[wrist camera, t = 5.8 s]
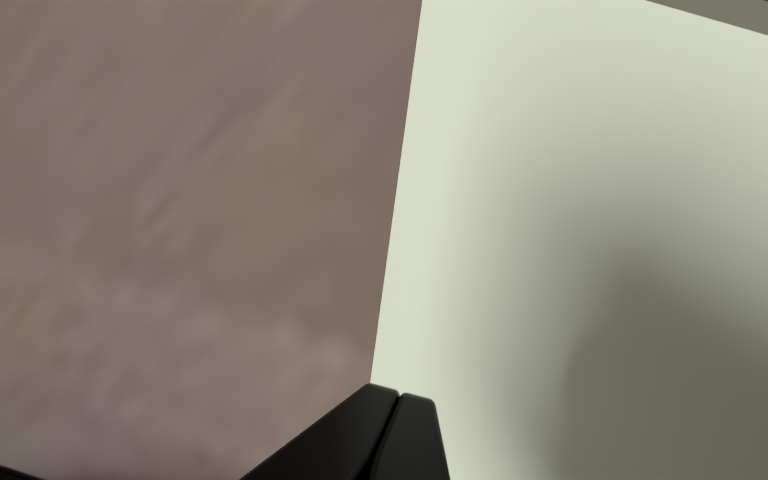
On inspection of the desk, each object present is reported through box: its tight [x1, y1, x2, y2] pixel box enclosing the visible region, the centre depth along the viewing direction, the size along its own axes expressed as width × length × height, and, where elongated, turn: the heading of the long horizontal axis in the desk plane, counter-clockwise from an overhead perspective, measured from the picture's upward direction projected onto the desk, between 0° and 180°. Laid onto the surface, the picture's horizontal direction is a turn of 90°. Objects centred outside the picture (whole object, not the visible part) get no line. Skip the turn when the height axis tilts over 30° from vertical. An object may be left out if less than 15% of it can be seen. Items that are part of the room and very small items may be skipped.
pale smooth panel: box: [370, 0, 768, 480], centre depth 10 cm, size 2×10×10 cm
